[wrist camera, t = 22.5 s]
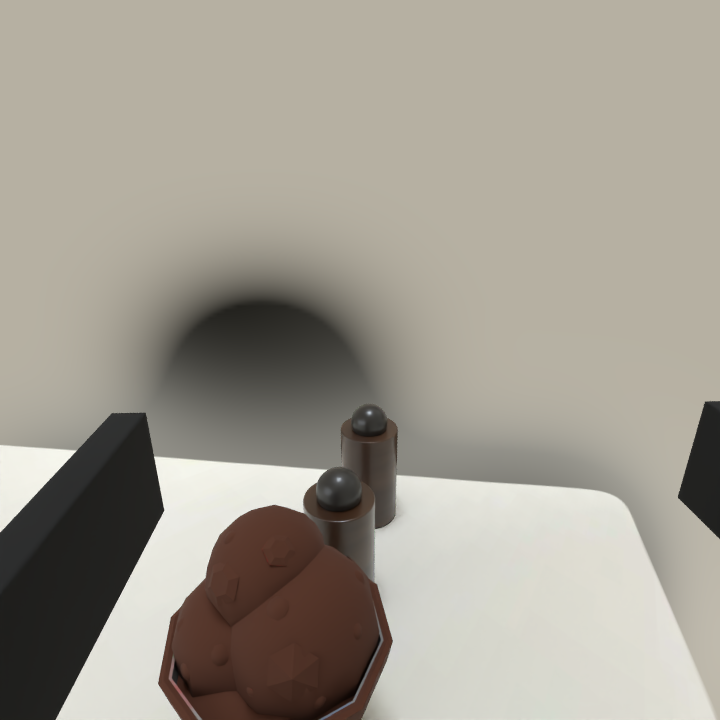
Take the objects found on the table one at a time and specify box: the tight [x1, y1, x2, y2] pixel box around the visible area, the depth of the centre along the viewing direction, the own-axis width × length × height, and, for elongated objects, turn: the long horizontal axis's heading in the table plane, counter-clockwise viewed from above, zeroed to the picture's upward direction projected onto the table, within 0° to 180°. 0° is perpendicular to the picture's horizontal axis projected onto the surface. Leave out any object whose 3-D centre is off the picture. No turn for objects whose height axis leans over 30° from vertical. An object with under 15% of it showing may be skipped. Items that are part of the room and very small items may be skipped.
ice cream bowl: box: [158, 505, 393, 720], centre depth 25 cm, size 11×11×15 cm
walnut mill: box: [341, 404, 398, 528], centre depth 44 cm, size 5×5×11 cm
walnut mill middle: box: [303, 467, 375, 582], centre depth 35 cm, size 5×5×11 cm
